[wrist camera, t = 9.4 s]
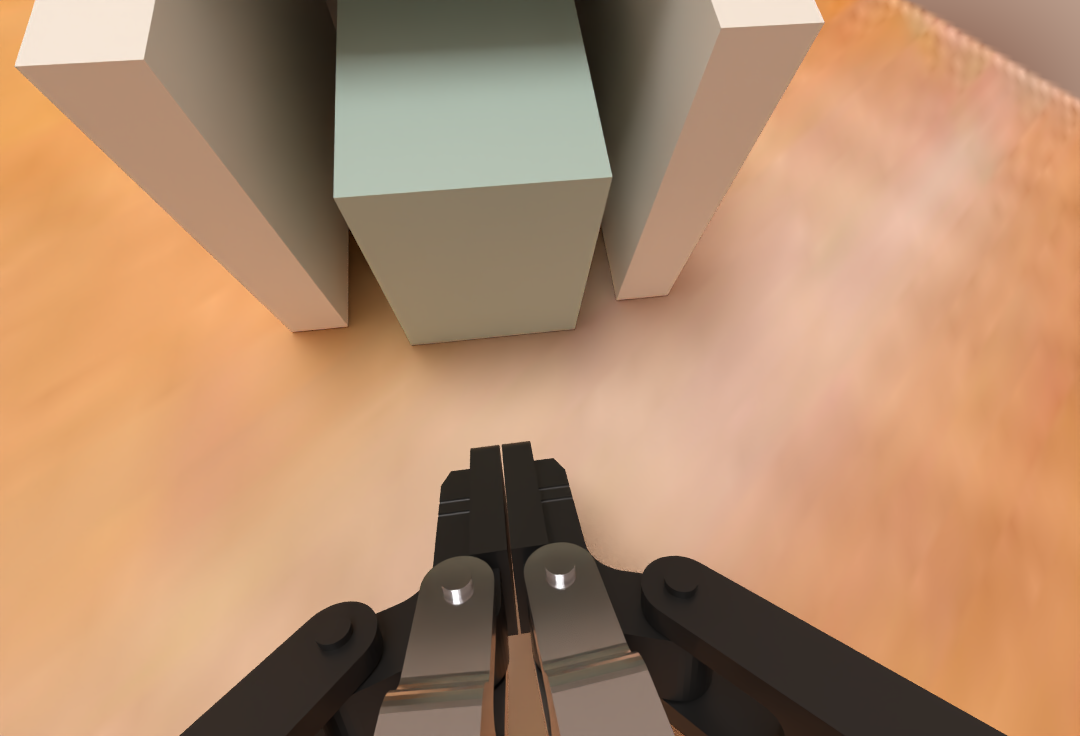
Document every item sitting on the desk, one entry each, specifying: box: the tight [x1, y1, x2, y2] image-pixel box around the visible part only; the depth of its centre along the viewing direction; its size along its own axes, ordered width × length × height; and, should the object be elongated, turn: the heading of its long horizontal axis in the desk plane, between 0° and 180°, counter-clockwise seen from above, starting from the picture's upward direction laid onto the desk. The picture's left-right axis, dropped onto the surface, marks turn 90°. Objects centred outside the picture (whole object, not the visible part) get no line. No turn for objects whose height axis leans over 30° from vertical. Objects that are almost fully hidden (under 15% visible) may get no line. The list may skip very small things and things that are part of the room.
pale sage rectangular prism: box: [333, 0, 612, 345], centre depth 16 cm, size 12×6×8 cm, turn 7°
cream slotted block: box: [14, 0, 825, 332], centre depth 15 cm, size 14×14×12 cm
